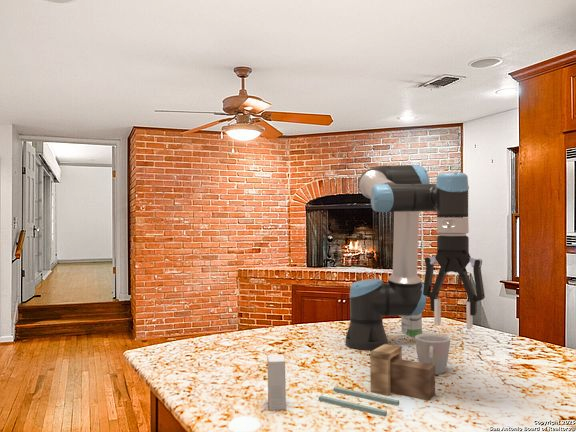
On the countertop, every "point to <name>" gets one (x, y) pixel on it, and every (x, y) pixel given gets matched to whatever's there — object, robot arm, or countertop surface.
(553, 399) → the countertop surface
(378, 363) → the wooden arch block
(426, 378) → the brown wooden block
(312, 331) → the countertop surface
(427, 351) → the mug
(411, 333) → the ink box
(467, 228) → the robot arm
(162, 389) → the countertop surface
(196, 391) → the countertop surface
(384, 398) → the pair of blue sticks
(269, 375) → the skincare box
